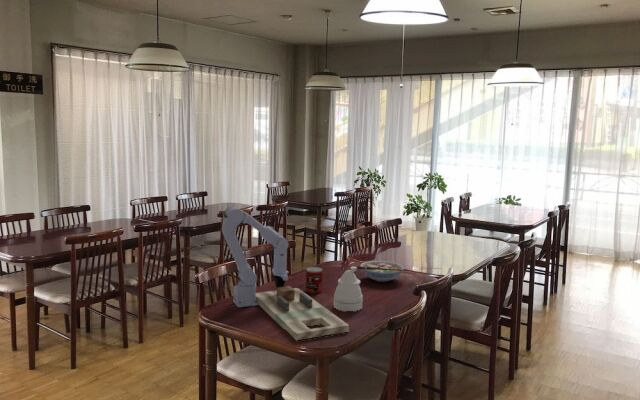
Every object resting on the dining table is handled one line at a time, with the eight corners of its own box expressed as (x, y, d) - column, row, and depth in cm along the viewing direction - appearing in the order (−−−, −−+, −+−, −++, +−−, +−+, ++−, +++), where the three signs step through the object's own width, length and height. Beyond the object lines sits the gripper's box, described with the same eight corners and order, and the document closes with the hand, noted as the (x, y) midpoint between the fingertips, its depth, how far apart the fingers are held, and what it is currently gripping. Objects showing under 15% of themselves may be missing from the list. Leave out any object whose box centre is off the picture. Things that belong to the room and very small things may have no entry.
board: (296, 341, 191) (296, 324, 190) (253, 299, 236) (253, 285, 235) (348, 332, 201) (349, 316, 200) (297, 293, 245) (297, 280, 245)
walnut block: (281, 301, 226) (281, 291, 225) (276, 297, 231) (276, 287, 230) (294, 299, 228) (294, 289, 228) (289, 295, 234) (289, 285, 233)
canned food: (302, 292, 248) (303, 269, 247) (310, 287, 256) (311, 266, 254) (316, 294, 245) (317, 272, 243) (324, 290, 252) (325, 268, 250)
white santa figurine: (360, 301, 237) (362, 263, 234) (363, 311, 224) (365, 271, 221) (332, 301, 236) (333, 263, 234) (334, 311, 224) (335, 271, 221)
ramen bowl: (404, 275, 282) (404, 260, 280) (406, 287, 259) (407, 272, 258) (358, 272, 284) (358, 258, 283) (356, 285, 261) (357, 269, 260)
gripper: (294, 265, 229) (293, 295, 231) (282, 258, 242) (281, 286, 244) (279, 267, 226) (279, 297, 228) (268, 259, 239) (267, 287, 241)
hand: (279, 291), depth 236 cm, fingers closed
